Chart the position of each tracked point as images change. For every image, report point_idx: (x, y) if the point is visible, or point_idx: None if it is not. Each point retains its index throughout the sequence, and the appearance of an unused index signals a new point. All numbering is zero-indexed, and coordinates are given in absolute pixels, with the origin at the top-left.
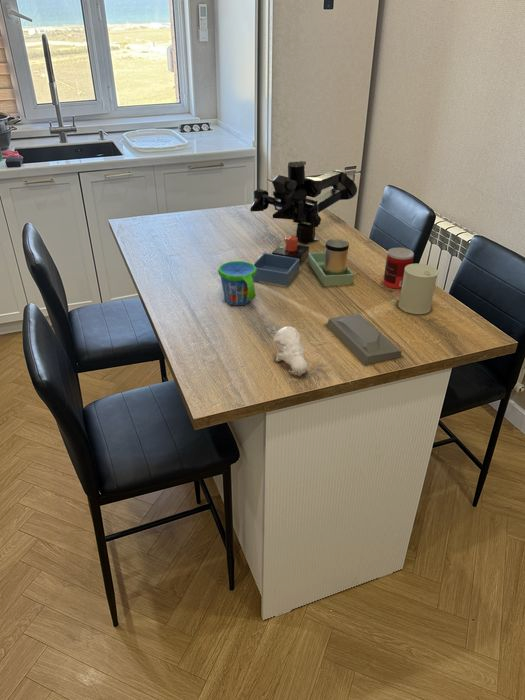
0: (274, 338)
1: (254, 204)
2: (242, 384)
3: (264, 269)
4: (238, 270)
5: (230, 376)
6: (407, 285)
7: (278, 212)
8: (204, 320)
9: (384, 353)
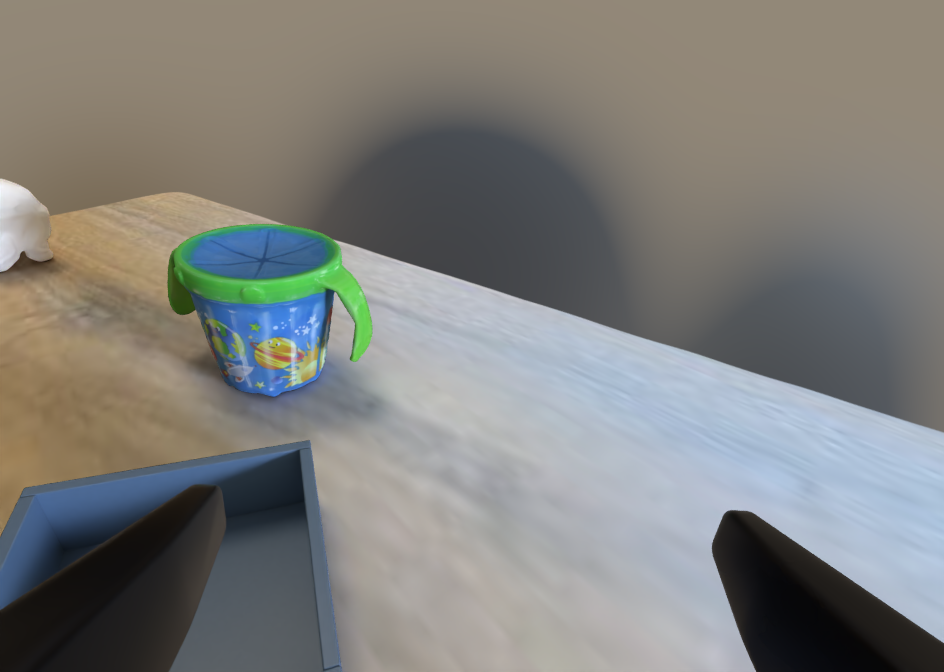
0: (44, 206)
1: (852, 603)
2: (123, 221)
3: (211, 458)
4: (261, 262)
5: (155, 225)
6: None
7: (82, 559)
8: None
9: None
